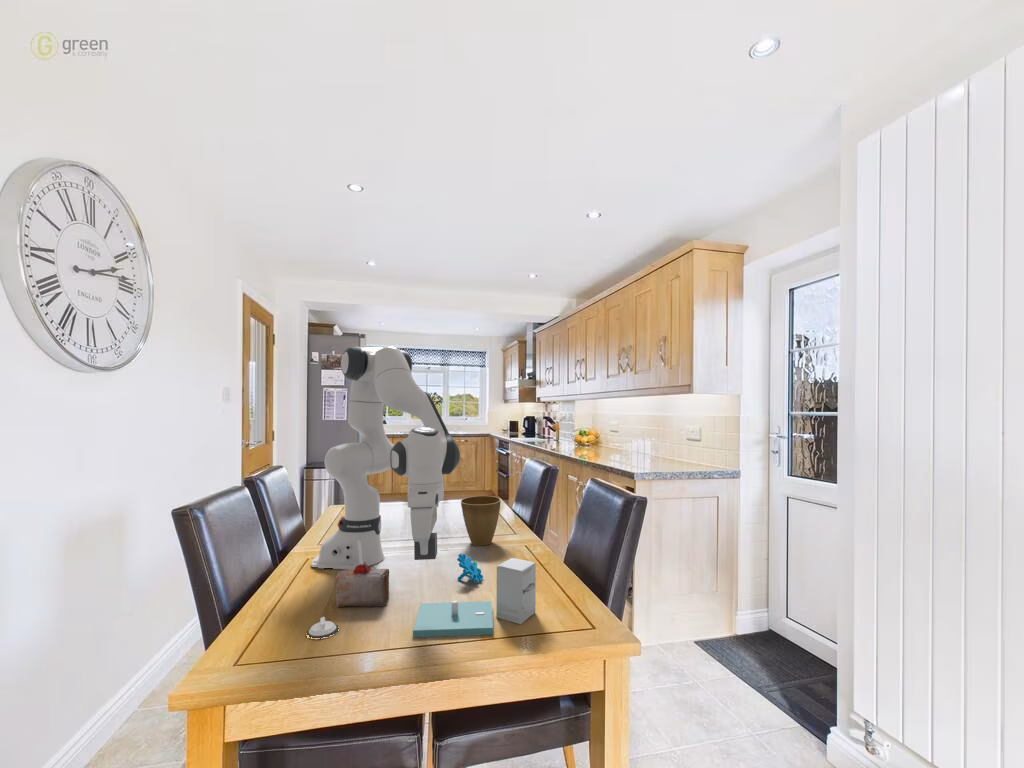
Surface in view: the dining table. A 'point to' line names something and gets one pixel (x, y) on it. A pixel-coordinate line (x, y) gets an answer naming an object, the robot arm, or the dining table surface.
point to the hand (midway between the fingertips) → (426, 549)
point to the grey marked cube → (432, 549)
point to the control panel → (454, 619)
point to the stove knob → (322, 629)
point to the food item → (362, 586)
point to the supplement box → (516, 590)
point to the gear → (469, 568)
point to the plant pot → (481, 518)
